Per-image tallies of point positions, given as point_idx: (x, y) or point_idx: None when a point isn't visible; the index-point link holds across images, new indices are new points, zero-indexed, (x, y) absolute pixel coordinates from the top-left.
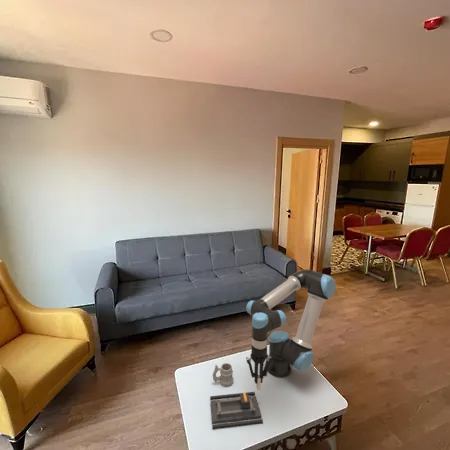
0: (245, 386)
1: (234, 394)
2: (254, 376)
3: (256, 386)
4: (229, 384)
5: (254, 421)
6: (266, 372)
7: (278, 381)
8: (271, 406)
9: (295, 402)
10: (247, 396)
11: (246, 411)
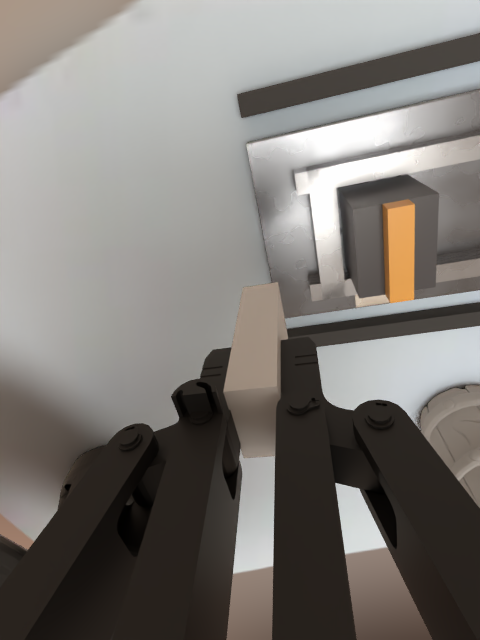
0: (339, 389)
1: (435, 325)
2: (341, 422)
3: (286, 330)
4: (456, 397)
5: (310, 85)
6: (86, 496)
7: (134, 421)
8: (173, 252)
9: (22, 290)
10: (368, 268)
11: (378, 155)
